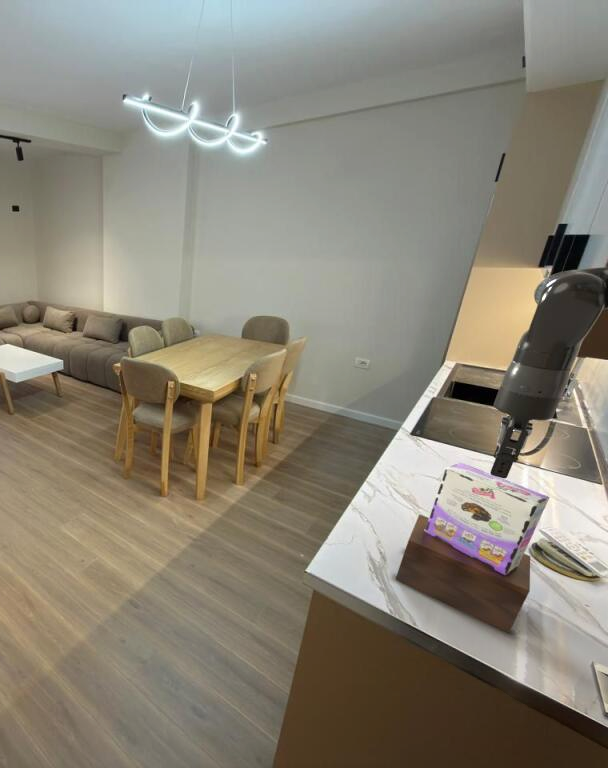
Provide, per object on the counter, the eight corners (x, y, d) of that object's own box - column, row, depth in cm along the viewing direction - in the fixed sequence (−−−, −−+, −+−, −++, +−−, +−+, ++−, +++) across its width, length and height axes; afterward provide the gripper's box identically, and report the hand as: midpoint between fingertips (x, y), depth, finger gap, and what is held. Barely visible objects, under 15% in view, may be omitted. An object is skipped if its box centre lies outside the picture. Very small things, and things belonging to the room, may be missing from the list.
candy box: (519, 566, 77) (552, 496, 71) (504, 577, 74) (537, 505, 69) (437, 523, 89) (460, 460, 83) (422, 531, 86) (445, 467, 80)
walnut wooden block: (510, 597, 83) (530, 556, 79) (508, 634, 76) (529, 590, 72) (406, 551, 95) (419, 514, 92) (395, 579, 88) (408, 539, 84)
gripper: (564, 405, 62) (526, 491, 68) (561, 383, 71) (528, 460, 77) (498, 393, 67) (468, 474, 73) (503, 374, 76) (476, 447, 82)
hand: (499, 467), depth 75 cm, fingers open, 8 cm apart
